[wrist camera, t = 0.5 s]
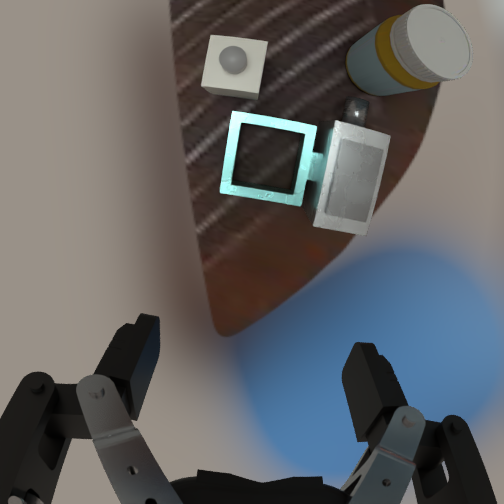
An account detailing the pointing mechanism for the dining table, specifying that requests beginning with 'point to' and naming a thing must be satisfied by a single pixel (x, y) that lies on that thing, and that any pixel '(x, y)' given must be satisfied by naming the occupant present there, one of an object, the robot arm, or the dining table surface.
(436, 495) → the robot arm
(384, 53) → the bottle
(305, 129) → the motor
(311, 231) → the dining table surface
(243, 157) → the dining table surface
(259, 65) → the white cube with peg
